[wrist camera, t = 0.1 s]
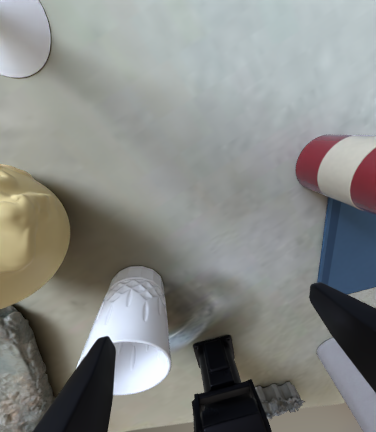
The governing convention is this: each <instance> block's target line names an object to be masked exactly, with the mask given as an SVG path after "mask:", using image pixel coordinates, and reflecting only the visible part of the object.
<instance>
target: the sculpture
mask: <svg viewBox="0 0 376 432" xmlns="http://www.w3.org/2000/svg"><path fill="white" fill-rule="evenodd" d="M69 241H70V224H69V219H68V216H67V213H66V211H65V209H64V207H63V205H62V203H61V202H60V200H59V199H58V198H57V197H56V196H55V194H54V193H53V192H51V191H50V190H49V189H48V188H47V187H45V186H44V185H42V184H41V183H39V182H37V181H36V180H34V179H33V178H32V176H31V175H30V174H29V173H27V172H25V171H23V170H20V169H17V168H15V167H12V166H8V165H3V164H0V309H2V308H5V307H8V306H10V305H13V304H15V303H17V302H19V301H21V300H23V299H25V298H27V297H28V296H30V295H31V294H33V293H34V292H36V291H37V290H39V289H40V288H41V287H42V286H43V285H45V284H46V283H47V282H48V281H49V280H50V279H51V278H52V277H53V275H54V274H55V273H56V272H57V270H58V269H59V267H60V265H61V264H62V262H63V260H64V258H65V255H66V253H67V250H68V246H69Z"/></svg>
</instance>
